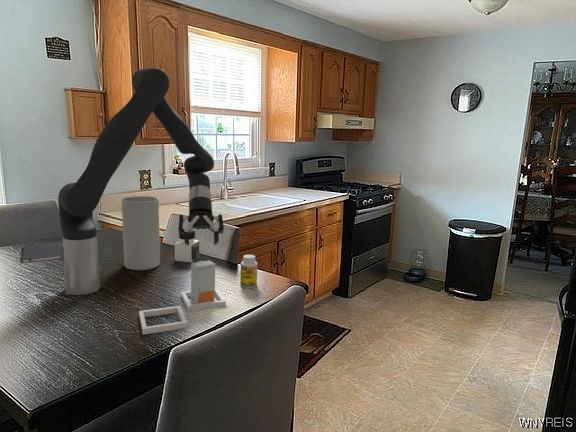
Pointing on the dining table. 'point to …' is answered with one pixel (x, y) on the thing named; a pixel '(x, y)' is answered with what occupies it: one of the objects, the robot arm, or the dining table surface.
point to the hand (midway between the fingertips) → (201, 244)
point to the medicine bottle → (187, 248)
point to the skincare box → (202, 282)
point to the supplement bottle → (248, 272)
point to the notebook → (41, 252)
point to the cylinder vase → (141, 232)
